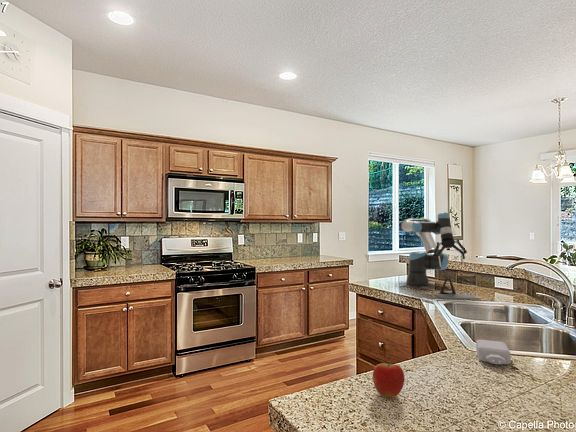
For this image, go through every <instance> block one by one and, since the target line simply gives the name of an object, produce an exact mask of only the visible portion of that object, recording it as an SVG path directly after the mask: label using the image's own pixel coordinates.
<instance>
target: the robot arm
mask: <svg viewBox="0 0 576 432" xmlns="http://www.w3.org/2000/svg"><path fill="white" fill-rule="evenodd" d="M400 228H401V230H402V231H403V232H405V233H410V234H416V235H417V236H418V237H420V240H421V242H422V246H423V248H424V250H422V251H420V250H419V251H413V252H410V253H409V255H408V274H407V277H406V285H410V286H418V287H420V286H421V287H422V286H423V287H426V286H429V284H430V282H429V278H428V275H427V270H428V271H429V270H430V271H431V270H432V271H441V270H446V269H447V267H448V263H449V256H448V254H447V253H443V251H444V250H445V249H455V250H456V251H457V252H458V253H459V254H460V256H461V257H460V258H461V262H462V265H465V262H464V260H465V259H466V257H465V256H466V255H465V254H467V253H468V251H467V249H466V248H465V247H464V246H463V244H461V242H460V239H456V240H454V234H453V228H452V222H451V217H450V214H449V213H448V212H439V213H437V220H436V221H431V219H429V218H424V217H423V218H406V219H403V220H402V221H401V223H400ZM432 233H433V234H434V235H435V236H436V235H440V239H441V240H440V242H439V241H437V242H436V241H435V239H434V237H433V234H432ZM455 244H456V245H458V246H459V247H460V248H459V247H458V246H456V245H455ZM440 246H441V248H440ZM439 248H440V249H439Z"/></svg>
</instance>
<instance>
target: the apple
mask: <svg viewBox="0 0 576 432" xmlns="http://www.w3.org/2000/svg"><path fill="white" fill-rule="evenodd" d="M387 358H388V360H390V356H387ZM372 371H373V372H372V381H373V382H372V383H373V384H374V388H375V389H376V391H377V393H378V394H379V395H381V396H382V397H383V398H387V399H391V398H395V397H396V396H398V395H399V394H400V393H401V392H402V389H403V387H404V385H405V374H404V370H403V369H402V367H401V366H400V365H399V364H392V363H384V362H382V363H378V364H376V366H375V367H374V368H373V370H372Z"/></svg>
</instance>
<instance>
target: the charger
mask: <svg viewBox="0 0 576 432" xmlns="http://www.w3.org/2000/svg"><path fill="white" fill-rule="evenodd" d="M475 344H476V347H475V350H476V354H477V358H478V360H479V361H480V362H484V363H490V364H494V365H511V357H512V356H511V351H510V349H509V348H508V345H507V344H506V342H503V341H496V340H488V339H476V343H475Z"/></svg>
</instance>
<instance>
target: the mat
mask: <svg viewBox="0 0 576 432" xmlns="http://www.w3.org/2000/svg"><path fill="white" fill-rule="evenodd" d="M433 296H435V297H438V298H439V299H442V300H480V298H479V297H477V296H475V295H471V294H469V293H467V294H466V293H463V294H462V293H456V294H446V293H436V294H435V293H434V294H433Z"/></svg>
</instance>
